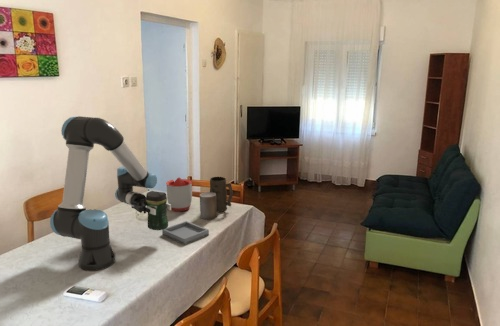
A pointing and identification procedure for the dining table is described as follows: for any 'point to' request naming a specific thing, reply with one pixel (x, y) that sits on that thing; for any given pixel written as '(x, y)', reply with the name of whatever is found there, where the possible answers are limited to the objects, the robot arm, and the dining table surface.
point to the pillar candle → (208, 205)
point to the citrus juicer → (179, 194)
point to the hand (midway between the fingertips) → (162, 209)
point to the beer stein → (221, 192)
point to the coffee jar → (157, 210)
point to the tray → (185, 232)
